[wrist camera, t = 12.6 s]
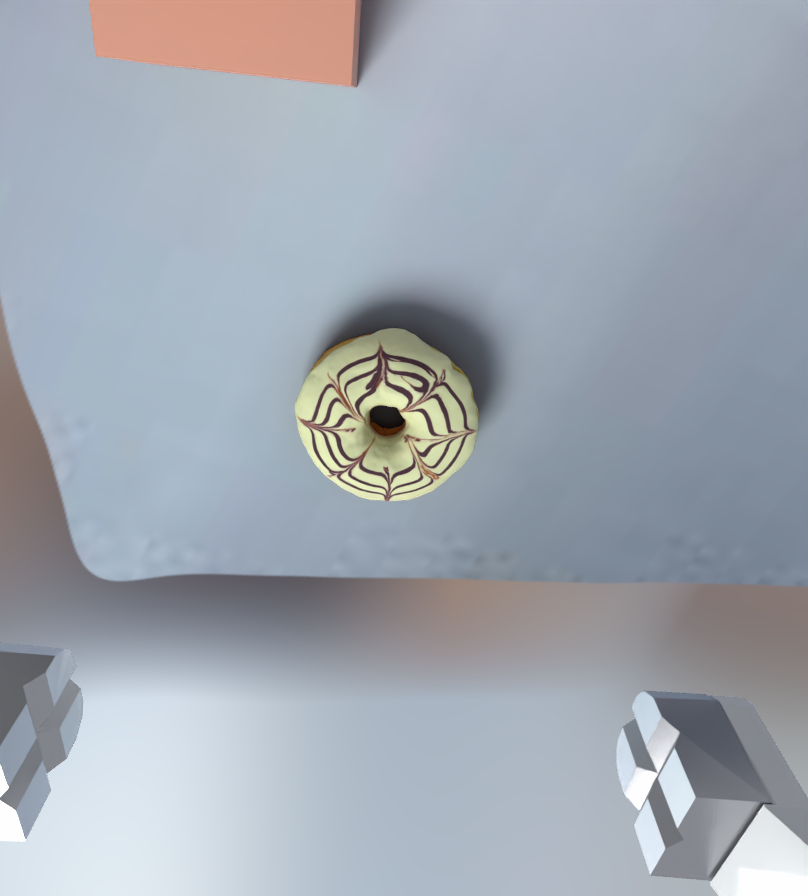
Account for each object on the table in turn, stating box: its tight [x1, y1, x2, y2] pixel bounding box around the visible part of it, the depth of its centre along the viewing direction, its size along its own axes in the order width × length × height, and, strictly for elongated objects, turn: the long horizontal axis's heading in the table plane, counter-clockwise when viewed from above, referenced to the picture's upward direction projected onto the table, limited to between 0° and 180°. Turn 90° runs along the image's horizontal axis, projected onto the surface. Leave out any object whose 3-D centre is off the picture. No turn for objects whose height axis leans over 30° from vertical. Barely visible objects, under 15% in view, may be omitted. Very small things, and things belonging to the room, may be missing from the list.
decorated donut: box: [295, 328, 479, 501], centre depth 37 cm, size 10×11×4 cm
